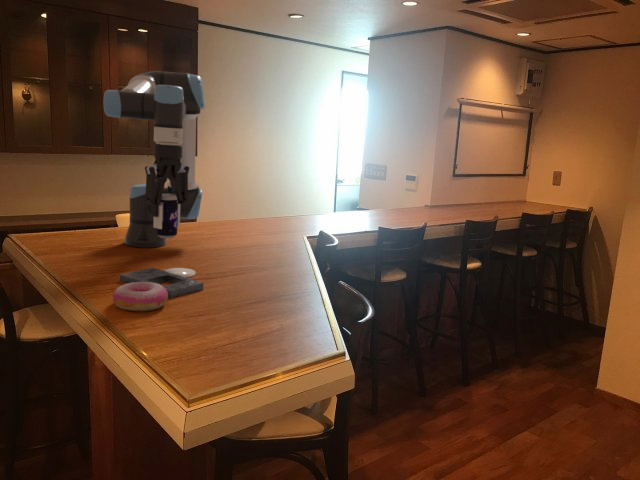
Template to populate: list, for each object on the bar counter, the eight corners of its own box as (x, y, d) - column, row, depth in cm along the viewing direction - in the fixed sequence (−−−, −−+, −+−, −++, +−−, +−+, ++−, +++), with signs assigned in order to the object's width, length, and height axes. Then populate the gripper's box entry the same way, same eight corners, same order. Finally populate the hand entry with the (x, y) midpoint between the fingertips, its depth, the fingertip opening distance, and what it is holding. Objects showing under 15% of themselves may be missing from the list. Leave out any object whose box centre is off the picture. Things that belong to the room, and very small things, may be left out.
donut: (125, 295, 142) (125, 277, 141) (174, 299, 141) (175, 281, 140) (104, 311, 128) (103, 292, 127) (157, 316, 128) (158, 296, 127)
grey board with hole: (119, 281, 153) (119, 274, 153) (153, 273, 163) (153, 267, 163) (170, 298, 141) (170, 291, 141) (203, 289, 151) (203, 282, 151)
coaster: (155, 273, 164) (155, 271, 164) (180, 268, 172) (180, 266, 172) (177, 280, 158) (177, 278, 158) (202, 274, 167) (202, 272, 167)
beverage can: (171, 239, 145) (172, 196, 143) (152, 237, 146) (152, 194, 144) (180, 236, 151) (181, 194, 148) (162, 233, 152) (163, 192, 149)
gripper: (148, 144, 134) (148, 233, 138) (203, 145, 149) (200, 225, 153) (130, 141, 138) (130, 228, 142) (185, 143, 153) (183, 221, 158)
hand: (166, 226), depth 148 cm, fingers closed on beverage can, 6 cm apart
